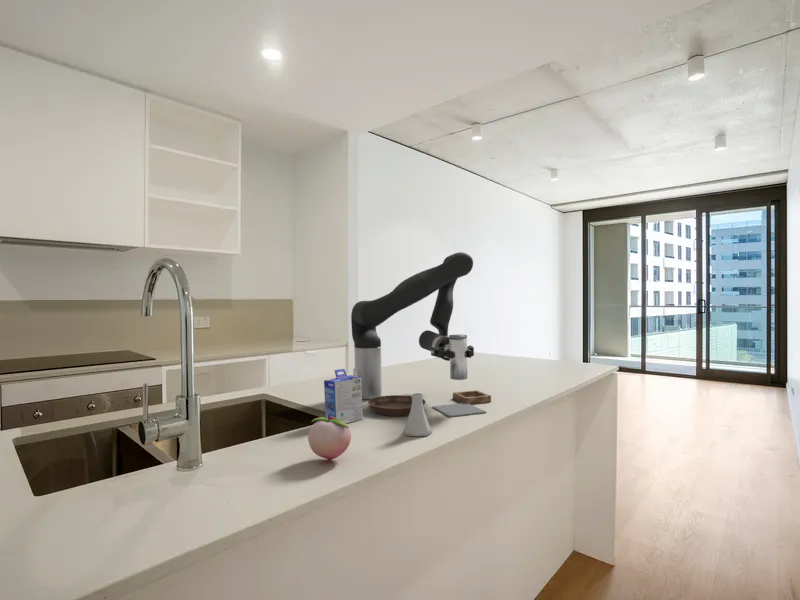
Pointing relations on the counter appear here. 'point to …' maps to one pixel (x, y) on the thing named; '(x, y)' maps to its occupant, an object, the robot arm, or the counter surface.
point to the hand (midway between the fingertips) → (460, 354)
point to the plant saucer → (392, 405)
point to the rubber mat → (458, 409)
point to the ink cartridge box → (343, 397)
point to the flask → (417, 418)
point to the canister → (458, 357)
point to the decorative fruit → (329, 437)
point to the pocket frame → (471, 397)
